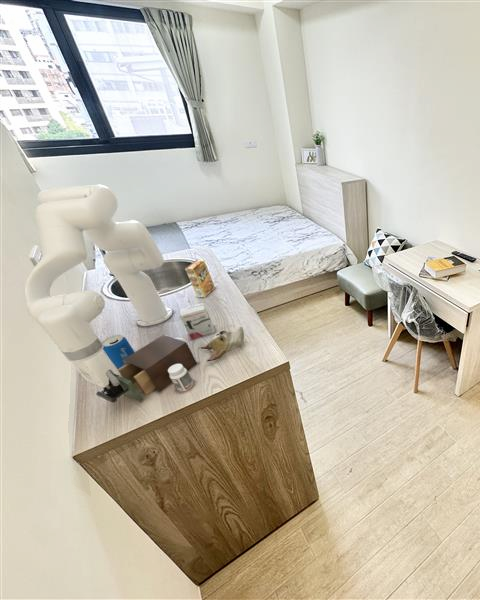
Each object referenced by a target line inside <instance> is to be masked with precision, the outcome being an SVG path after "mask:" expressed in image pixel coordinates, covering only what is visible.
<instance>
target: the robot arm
mask: <svg viewBox="0 0 480 600" xmlns="http://www.w3.org/2000/svg"><path fill="white" fill-rule="evenodd" d="M36 197H37V201H38V203H39V205H37V207H35V209H34V217H35V223H36V228H37V233H38V240H39V244H40V249H41V253H42V257H41V258H40V260H39V261H38V262H37V264H36V265H35V266H34V267H33V268H32V270H31V271H30V273H29V275H28V277H27V279H26V280H25V284H24V289H23V291H24V293H23V294H24V299H25V304H26V308H27V312H28V314H29V317H30V318H31V319H32V320H33V321H34V322H35V323H36V324H38V325H39V326H40V327H41V328H42V329H43V331H44V332H45V333H46V335H47V336H48V337H49V338H50V340H51V341H52V342H53V344H54V345H55V346H56V347H57V348H58V350H60V352H61V353H62V354H63V355H64V357H65V359H66V360H67V361H69V362H71V363H72V364H73V365H74V367H75V368H76V370H77V372H78V373H79V374H80V375H81V377H82V379H84V381H87V382H89V383H90V384H94V385H95V386H97V387H100V388H102V389H103V390H105V391H106V392H105V393H107V394H109V395H111V396H113V397H115V396H117V395H118V394H120V393H121V392H123V391H124V389H123V388H122V386H121V385H120V384H121V383H120V382H119V381H118V380H117V378H116V377H120V376H121V374H120V372H119V371H118V369H117V368H116V366H115V365H114V364H113V363H112V361H111V360H110V359H109V357H108V356H107V354H106V353H105V351H104V350H103V347H104V345H103V344H102V342H103V341H101V339H100V338H99V337H98V334H96V332H95V331H94V329H93V328H92V326H91V325H90V323H91V322H92V321H93V320H94V319H96V318H97V317H99V316H100V315H101V313H102V312H103V311H104V309H105V305H106V302H105V299H104V297H103V296H102V294H100V293H99V292H97V291H94V290H80V291H74V292H69V293H62V294H57V295H52V296H51V288H52V285H53V284H54V282H55V281H56V280H57V279H58V278H59V277H60V276H62V275H64V274H65V273H66V272H68V271H69V270H71V269H73V268H75V267H76V266H78V265H80V264H82V263H83V262H84V261H86V259H87V258H88V253H87V248H86V242H85V238H84V233H83V232H85V234H86V235H87V236H88V238H89V239H90V240H91V241H92V242H93V244H94V245H95V246H96V247H97V248H98V249H100V250H101V251H104V252H106V253H105V254H104V255H103V257H102V258H103V264H104V265H105V267H106V268H107V269H108V270H109V272H110V273H111V274H112V275H113V276H114V277H115V279H116V280H117V281H118V283H119V285H120V286H121V288H122V289H123V291H124V293H125V295H126V296H127V298H128V300H129V302H130V304H131V305H132V307H133V309H134V310H135V313H136V314H137V316H138V317H136V324H137V325H138V326H141V327H150V326H156V325H158V324H161V323H163V322H165V321H167V320H168V319H170V318H171V316H172V315H173V310H172V308H170V307H168V306H165V304H164V301H163V300H162V298H161V296H160V294H159V292H158V290H157V288H156V286H155V284H154V282H153V281H152V278H151V277H150V276H149V275H148V274H147V273H146V272H144V271H149V270H155V269H156V270H157V269H159V268H161V267H162V266H163V265H164V263H165V261H164V259H165V258H164V256H163V253H162V252H161V250H160V248H159V246H158V244H157V243H156V242H155V240H154V238H153V236H152V234H151V233H150V232H149V230H148V228H147V227H146V226H145V225H144V224H143V223H141V222H140V221H137V220H127V221H119V222H118V221H114V219H113V218H114V216H115V214H116V212H117V210H118V207H119V205H118V199H117V197H116V195H115V192H113V190H111V188H109V187H108V186H106V185H102V184H91V185H90V184H89V185H78V186H64V187H53V188H46V189H43V190H41V191H39V192H38V194H37V196H36ZM115 376H116V377H115ZM121 377H122V376H121Z"/></svg>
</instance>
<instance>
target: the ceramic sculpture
mask: <svg viewBox="0 0 480 600" xmlns="http://www.w3.org/2000/svg"><path fill="white" fill-rule="evenodd" d="M244 339H245V333H244V329H243V326H239V327H235V328H234V329H233V330H231V331H228V330H221V331H219V333H217V334H215V335H213V336H212V337H211V339H210V340H209V342H208V343H207V344H206V345H204V346H203V345H202V346H201V347H200V349H201V350H206V351H207V350H209V351H210V350H212V351H213V352H212V353H210V356H209V357H208V358H207V360H206V362H208V363H209V362H213V361H217V360H220V359H221V358H222V357H223V356H224V355H225V354H226V353H227V352H230V351H231V350H233V349H234V348H237V347H243V346H244V341H245V340H244Z"/></svg>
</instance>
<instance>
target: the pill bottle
mask: <svg viewBox="0 0 480 600" xmlns="http://www.w3.org/2000/svg"><path fill="white" fill-rule="evenodd" d="M168 373H169V374H170V378H171V380H172V382H173V383H172V384H173V385H174V387H175V389H176V390H177V391H178V392H186V391H189V390H190V389H191V388H192V387H193V385H194V381H193V379H192V377H191V375H190V373H189V370H188V371H187V370H186V368H184V367H183V365H182V364H174V365H172V366H171V367H170V368H169V369H168Z"/></svg>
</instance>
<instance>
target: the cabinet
mask: <svg viewBox="0 0 480 600" xmlns="http://www.w3.org/2000/svg"><path fill="white" fill-rule="evenodd" d="M188 344H189V343H188V342H187V341H184V340H182V339H179V338H176V337H174V336H173V337H172V336H170V335H167V334H162V335H160V336H159V337H157V338H155V339H154V340H152V341H151V342H149V343H147V344H146V345H144V346H142V347H141V348H139V349H138V350H136V351H134V352H135V353H133V354H131V355H130V356H128V357H127V358H125V359H123V361H124V363H125V364H127V363H128V364H130V365H133V366H135V367H138V368H140V369H143V370H145V371H146V373H147V374H148V376H149V377H150V379H151V380H152V382H153V383H154V385H155V387H156V388H155V389H154V390H153V391H157V392H159V393H161V392H163V390H164V389H166V388H168V387H169V386H171V384H174V383H173V382H172V380H171V378H170V374H169V373H168V369H169V368H170V367H171V366H172V365H174V364H182V365H183V367H184V368H186V370H187V371H188V372H189V371H190V370H191V369H192V368H194V367H195V366H197V364H198V362H197V361H196V358H195V357H194V355H193V354H194V353H192V350H191V348H190V347H189V345H188Z"/></svg>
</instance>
